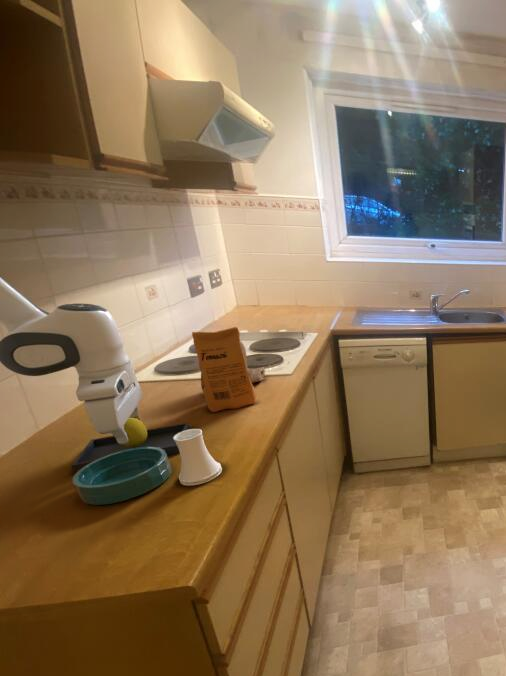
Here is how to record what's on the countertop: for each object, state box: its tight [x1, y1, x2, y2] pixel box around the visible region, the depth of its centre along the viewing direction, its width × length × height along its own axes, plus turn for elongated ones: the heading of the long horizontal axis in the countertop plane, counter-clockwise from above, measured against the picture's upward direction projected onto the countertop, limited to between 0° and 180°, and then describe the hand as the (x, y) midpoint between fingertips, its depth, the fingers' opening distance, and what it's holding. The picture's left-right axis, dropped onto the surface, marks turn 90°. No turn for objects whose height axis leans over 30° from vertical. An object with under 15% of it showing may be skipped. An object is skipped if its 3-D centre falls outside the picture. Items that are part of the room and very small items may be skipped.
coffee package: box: [191, 326, 257, 413], centre depth 121 cm, size 10×12×22 cm
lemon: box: [122, 418, 148, 448], centre depth 100 cm, size 6×6×8 cm
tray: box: [70, 422, 192, 474], centre depth 102 cm, size 19×12×2 cm, turn 116°
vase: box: [173, 428, 223, 487], centre depth 91 cm, size 8×8×10 cm
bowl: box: [72, 447, 173, 506], centre depth 89 cm, size 15×15×4 cm
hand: (130, 432), depth 100 cm, fingers open, 8 cm apart
